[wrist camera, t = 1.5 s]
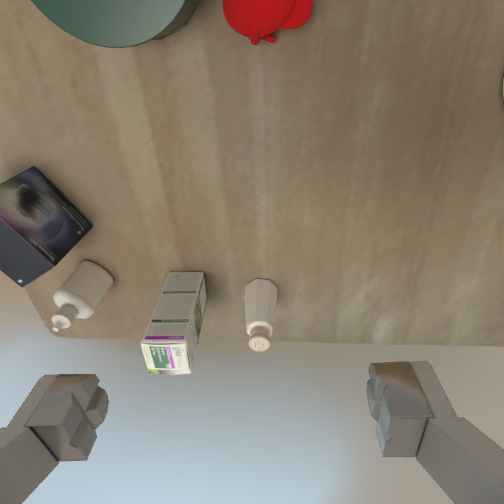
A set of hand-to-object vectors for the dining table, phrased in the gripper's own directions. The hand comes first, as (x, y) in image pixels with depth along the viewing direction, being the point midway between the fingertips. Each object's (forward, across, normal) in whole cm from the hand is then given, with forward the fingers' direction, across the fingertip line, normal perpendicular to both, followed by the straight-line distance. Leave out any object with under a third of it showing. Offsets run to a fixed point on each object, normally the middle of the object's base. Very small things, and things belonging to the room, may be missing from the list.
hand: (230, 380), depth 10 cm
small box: (+35, +30, +8) cm, 46 cm away
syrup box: (+35, +13, +23) cm, 44 cm away
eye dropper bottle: (+35, +27, +20) cm, 48 cm away
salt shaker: (+35, +2, +25) cm, 43 cm away
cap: (+35, -2, -11) cm, 37 cm away
